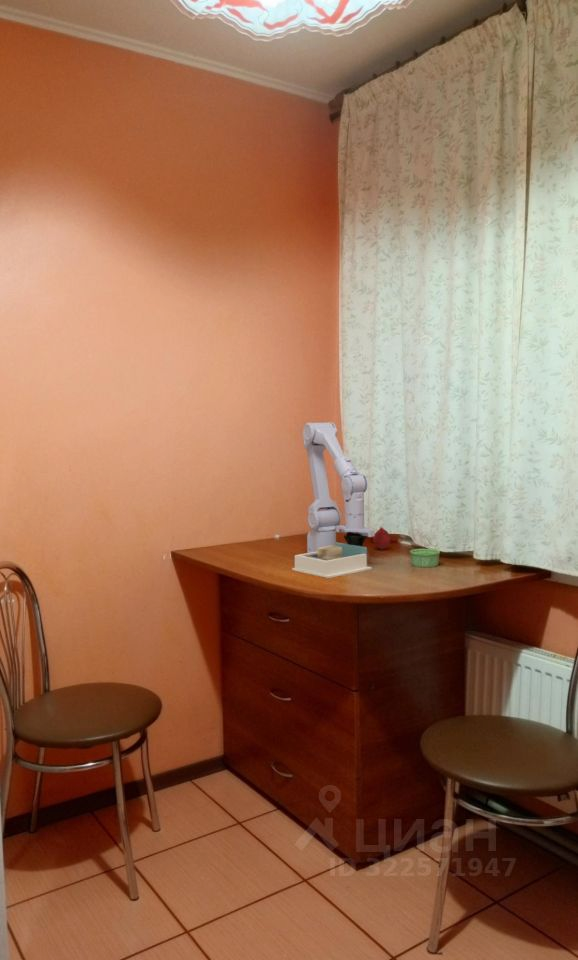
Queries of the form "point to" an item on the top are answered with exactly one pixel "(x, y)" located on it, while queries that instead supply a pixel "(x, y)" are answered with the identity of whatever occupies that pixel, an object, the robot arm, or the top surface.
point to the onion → (381, 538)
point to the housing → (330, 565)
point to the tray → (346, 551)
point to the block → (329, 552)
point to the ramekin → (424, 557)
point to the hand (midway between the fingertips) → (355, 557)
